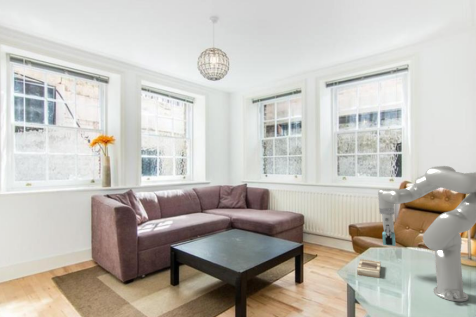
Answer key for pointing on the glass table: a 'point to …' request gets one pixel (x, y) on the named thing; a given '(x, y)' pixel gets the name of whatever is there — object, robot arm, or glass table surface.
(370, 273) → the birch base
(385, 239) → the teal block
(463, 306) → the glass table surface
